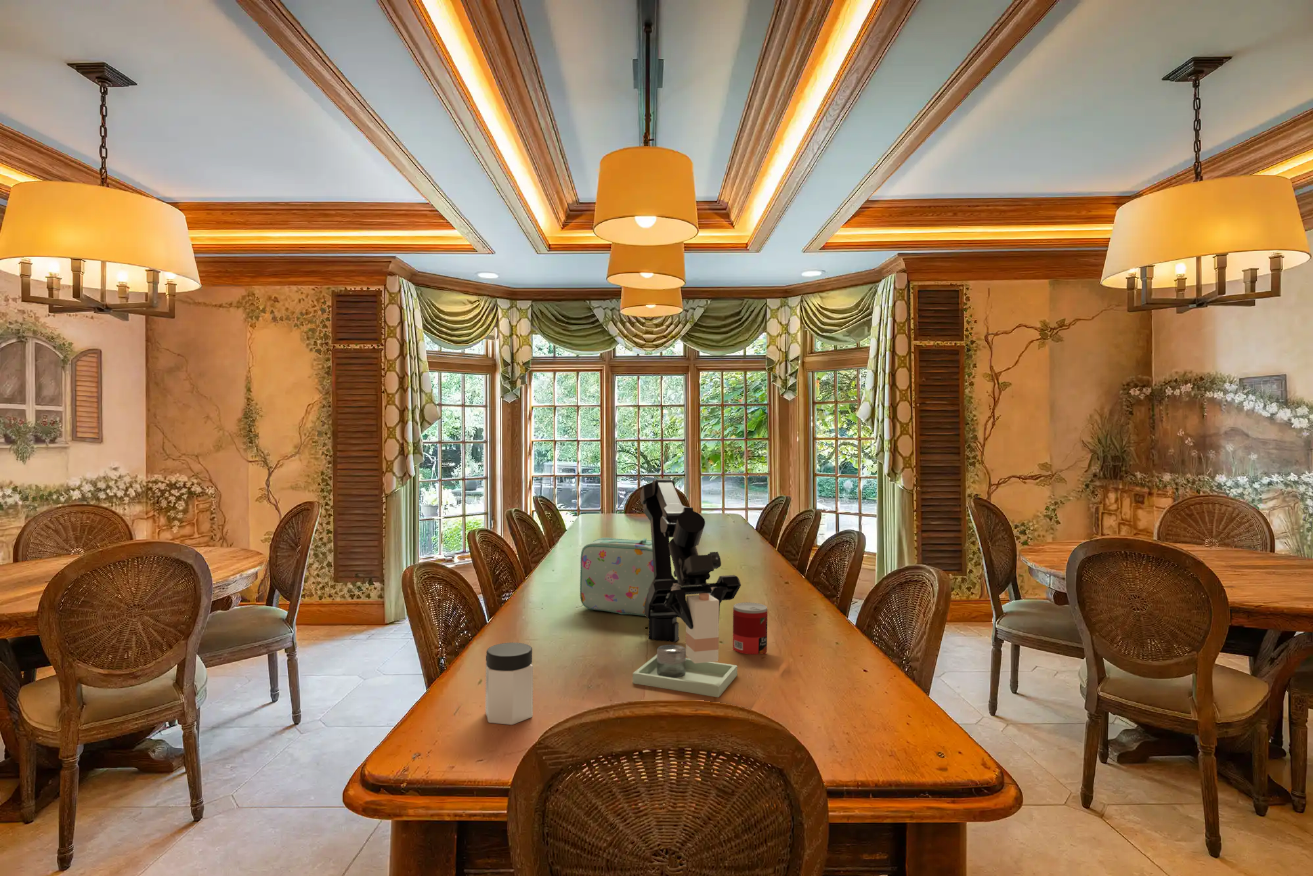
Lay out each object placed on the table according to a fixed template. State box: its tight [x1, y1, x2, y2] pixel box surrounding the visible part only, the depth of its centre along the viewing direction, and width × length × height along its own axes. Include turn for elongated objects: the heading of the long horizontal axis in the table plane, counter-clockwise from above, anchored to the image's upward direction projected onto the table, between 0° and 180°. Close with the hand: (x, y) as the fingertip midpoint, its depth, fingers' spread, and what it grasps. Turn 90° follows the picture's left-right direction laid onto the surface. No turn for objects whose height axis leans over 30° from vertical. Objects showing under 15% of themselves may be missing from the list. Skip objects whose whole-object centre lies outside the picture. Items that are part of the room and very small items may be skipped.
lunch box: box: [579, 537, 654, 617], centre depth 196 cm, size 27×10×21 cm, turn 71°
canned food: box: [732, 601, 768, 655], centre depth 159 cm, size 8×8×11 cm
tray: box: [632, 654, 738, 698], centre depth 139 cm, size 18×13×3 cm
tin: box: [656, 644, 687, 678], centre depth 143 cm, size 6×6×5 cm
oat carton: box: [685, 593, 720, 663], centre depth 136 cm, size 5×5×13 cm
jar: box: [485, 642, 534, 726], centre depth 123 cm, size 9×8×12 cm
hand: (704, 627), depth 135 cm, fingers closed on oat carton, 5 cm apart
